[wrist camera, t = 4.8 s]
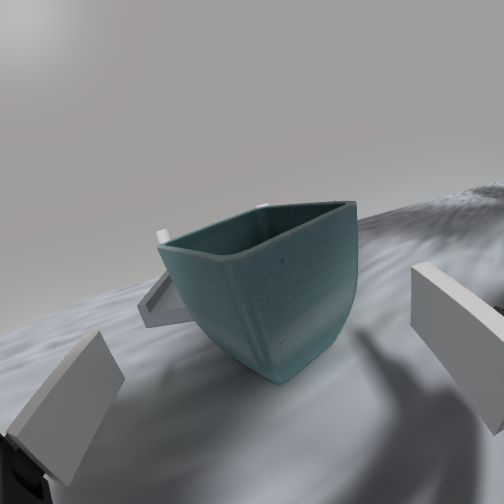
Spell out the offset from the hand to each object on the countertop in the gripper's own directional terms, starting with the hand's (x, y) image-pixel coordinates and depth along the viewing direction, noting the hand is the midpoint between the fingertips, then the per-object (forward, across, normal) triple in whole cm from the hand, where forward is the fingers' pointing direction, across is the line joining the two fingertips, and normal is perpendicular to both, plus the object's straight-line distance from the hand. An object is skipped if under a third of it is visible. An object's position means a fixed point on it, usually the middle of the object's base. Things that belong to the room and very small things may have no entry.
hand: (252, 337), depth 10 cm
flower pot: (+7, 0, -6) cm, 9 cm away
